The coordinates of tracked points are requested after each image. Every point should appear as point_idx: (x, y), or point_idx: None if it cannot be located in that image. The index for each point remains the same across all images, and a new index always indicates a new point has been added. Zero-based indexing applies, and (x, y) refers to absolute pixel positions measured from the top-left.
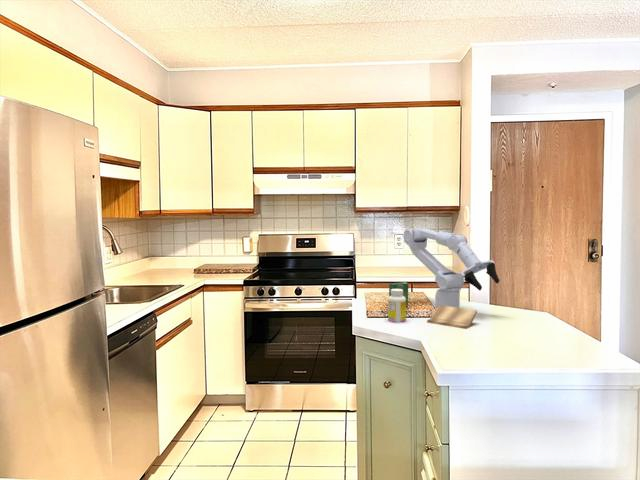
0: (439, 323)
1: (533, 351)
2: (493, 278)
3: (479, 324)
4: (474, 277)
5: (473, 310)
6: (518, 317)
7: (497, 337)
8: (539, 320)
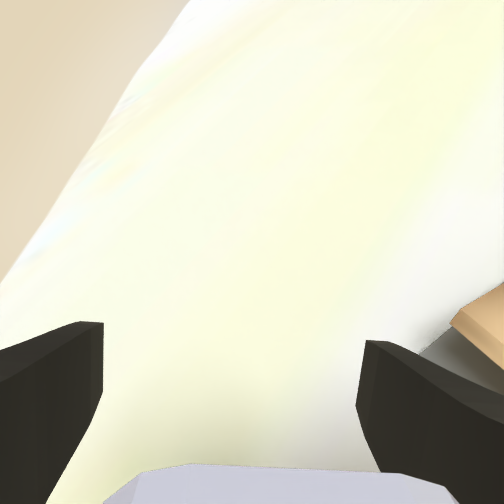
0: None
1: (363, 46)
2: (64, 442)
3: None
4: (494, 407)
5: (484, 324)
6: None
7: (411, 165)
8: None
